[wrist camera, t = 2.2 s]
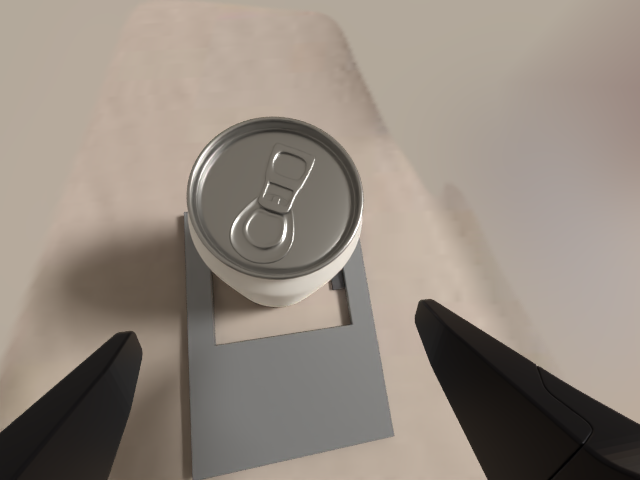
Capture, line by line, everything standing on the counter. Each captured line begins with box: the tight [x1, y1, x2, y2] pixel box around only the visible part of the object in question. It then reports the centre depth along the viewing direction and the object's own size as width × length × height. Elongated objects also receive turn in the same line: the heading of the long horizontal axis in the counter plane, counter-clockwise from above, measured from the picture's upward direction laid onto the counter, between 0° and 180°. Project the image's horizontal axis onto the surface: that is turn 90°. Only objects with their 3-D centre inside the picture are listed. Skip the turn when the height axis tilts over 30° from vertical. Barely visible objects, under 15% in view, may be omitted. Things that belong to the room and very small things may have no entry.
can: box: [187, 117, 364, 307], centre depth 15 cm, size 6×6×12 cm
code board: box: [184, 212, 394, 480], centre depth 20 cm, size 16×12×1 cm
